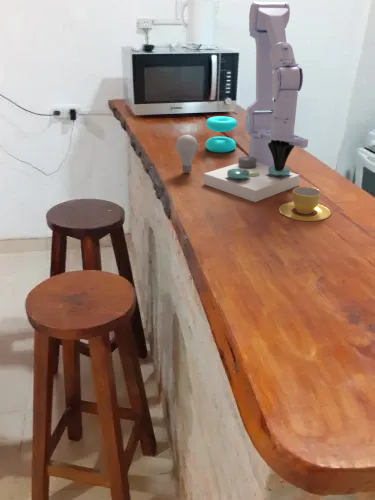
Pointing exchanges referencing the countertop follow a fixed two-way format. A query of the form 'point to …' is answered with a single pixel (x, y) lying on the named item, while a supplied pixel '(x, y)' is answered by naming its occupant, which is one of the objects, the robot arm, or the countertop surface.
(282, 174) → the disc
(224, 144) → the donuts
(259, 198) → the instrument base
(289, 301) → the countertop surface
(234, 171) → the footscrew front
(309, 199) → the cup
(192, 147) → the lightbulb
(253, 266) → the countertop surface
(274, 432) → the countertop surface
